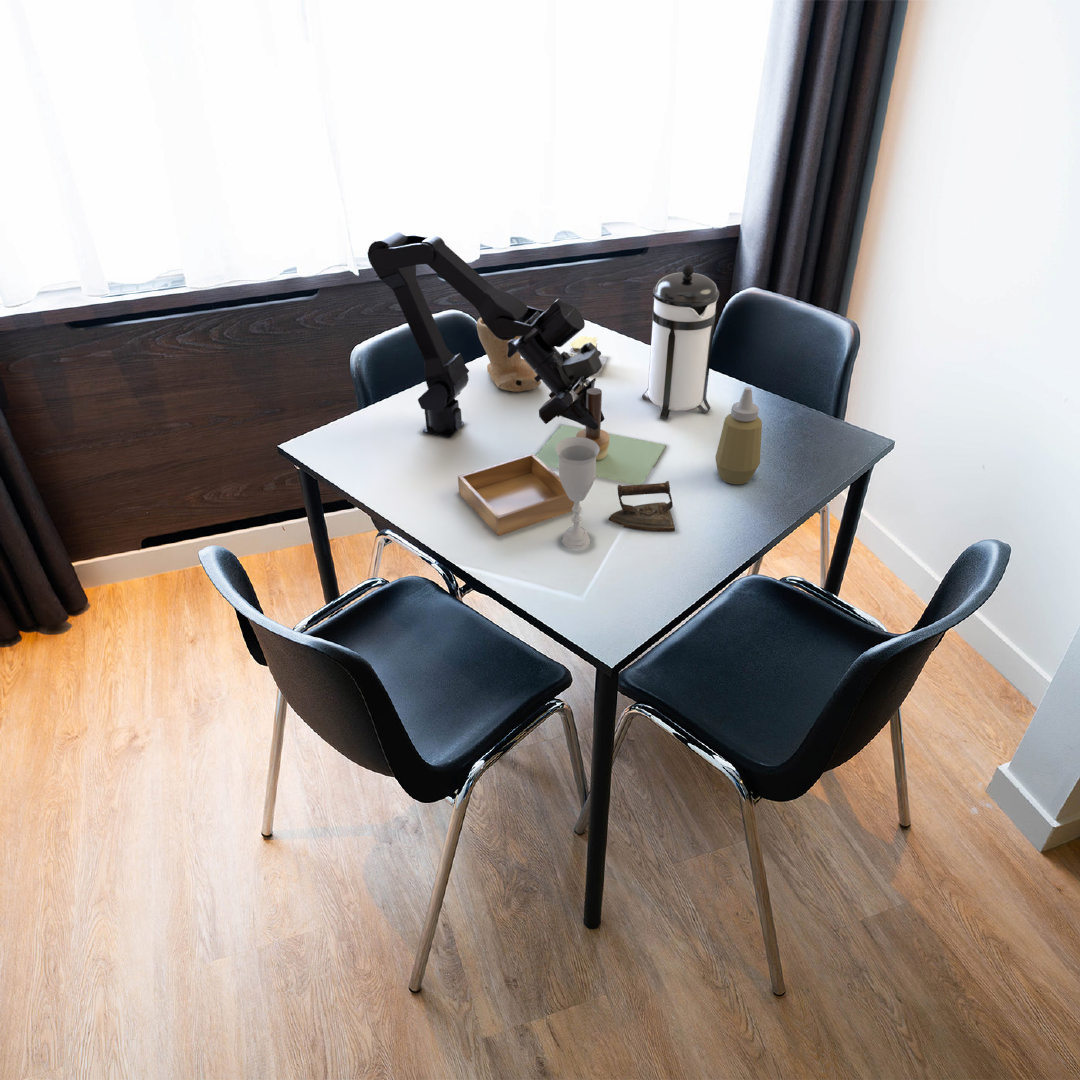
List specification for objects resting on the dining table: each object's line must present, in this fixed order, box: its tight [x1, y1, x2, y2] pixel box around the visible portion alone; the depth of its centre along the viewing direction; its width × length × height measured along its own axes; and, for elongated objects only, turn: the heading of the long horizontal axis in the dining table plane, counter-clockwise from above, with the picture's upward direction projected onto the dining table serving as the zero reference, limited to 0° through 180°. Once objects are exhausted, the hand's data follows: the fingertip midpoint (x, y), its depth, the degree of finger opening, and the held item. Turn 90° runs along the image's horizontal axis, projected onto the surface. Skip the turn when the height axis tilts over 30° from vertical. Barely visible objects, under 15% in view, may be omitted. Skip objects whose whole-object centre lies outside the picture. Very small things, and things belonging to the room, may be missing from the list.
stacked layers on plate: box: [569, 335, 608, 377], centre depth 194 cm, size 10×9×6 cm
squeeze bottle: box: [714, 386, 763, 485], centre depth 151 cm, size 8×8×18 cm
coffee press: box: [641, 263, 720, 421], centre depth 171 cm, size 17×16×30 cm
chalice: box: [556, 437, 600, 550], centre depth 135 cm, size 7×7×18 cm
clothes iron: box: [608, 480, 676, 533], centre depth 143 cm, size 7×11×10 cm, turn 92°
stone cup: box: [476, 317, 542, 393], centre depth 185 cm, size 15×12×15 cm
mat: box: [535, 424, 667, 485], centre depth 163 cm, size 22×16×1 cm
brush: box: [576, 387, 610, 460], centre depth 158 cm, size 6×6×13 cm
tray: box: [457, 452, 574, 537], centre depth 149 cm, size 15×15×4 cm
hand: (599, 424), depth 158 cm, fingers closed on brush, 3 cm apart
